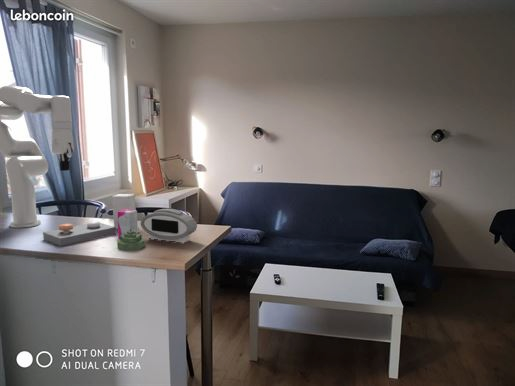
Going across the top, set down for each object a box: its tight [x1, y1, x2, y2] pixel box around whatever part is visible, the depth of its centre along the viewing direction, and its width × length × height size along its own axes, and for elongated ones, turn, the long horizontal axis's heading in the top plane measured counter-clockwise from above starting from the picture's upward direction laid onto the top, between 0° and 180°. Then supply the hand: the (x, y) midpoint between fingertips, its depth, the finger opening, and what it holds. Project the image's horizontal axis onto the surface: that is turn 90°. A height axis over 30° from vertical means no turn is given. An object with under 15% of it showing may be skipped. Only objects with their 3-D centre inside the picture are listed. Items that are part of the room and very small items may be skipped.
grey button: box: [86, 220, 101, 229], centre depth 177 cm, size 5×5×5 cm
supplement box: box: [117, 210, 139, 240], centre depth 171 cm, size 6×6×12 cm
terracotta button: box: [58, 223, 74, 234], centre depth 167 cm, size 5×5×5 cm
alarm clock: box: [140, 208, 198, 244], centre depth 169 cm, size 23×6×13 cm, turn 68°
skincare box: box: [111, 193, 136, 231], centre depth 185 cm, size 8×7×16 cm
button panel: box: [42, 222, 117, 247], centre depth 172 cm, size 14×24×3 cm, turn 142°
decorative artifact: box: [116, 229, 145, 251], centre depth 159 cm, size 10×7×10 cm
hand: (64, 170), depth 174 cm, fingers closed
